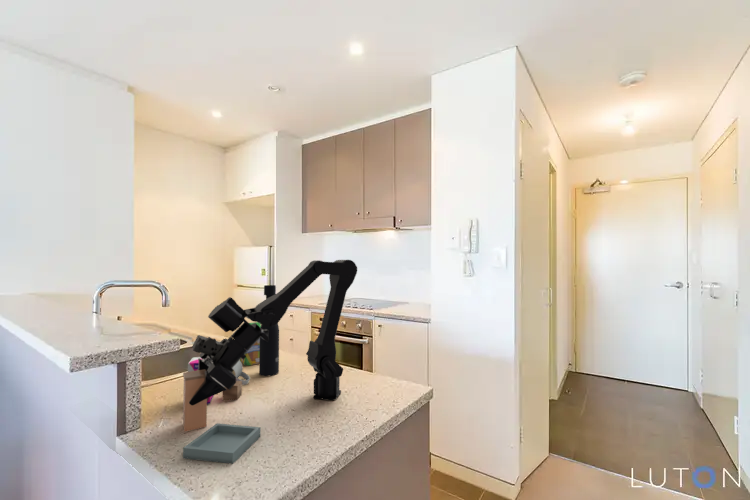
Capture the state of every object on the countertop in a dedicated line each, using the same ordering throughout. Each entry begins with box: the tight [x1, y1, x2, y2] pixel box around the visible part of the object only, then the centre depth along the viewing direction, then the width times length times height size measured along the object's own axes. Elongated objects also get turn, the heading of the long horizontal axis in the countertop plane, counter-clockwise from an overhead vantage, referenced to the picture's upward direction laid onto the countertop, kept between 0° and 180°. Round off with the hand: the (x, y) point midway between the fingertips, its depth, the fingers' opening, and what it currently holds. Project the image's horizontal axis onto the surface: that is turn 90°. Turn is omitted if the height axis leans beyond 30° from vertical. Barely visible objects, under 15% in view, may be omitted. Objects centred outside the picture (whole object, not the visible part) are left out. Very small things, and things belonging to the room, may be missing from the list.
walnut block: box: [222, 381, 243, 401], centre depth 100 cm, size 4×4×4 cm
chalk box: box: [240, 321, 261, 367], centre depth 136 cm, size 9×9×15 cm
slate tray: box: [182, 422, 262, 465], centre depth 73 cm, size 11×11×2 cm
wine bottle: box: [258, 284, 280, 377], centre depth 122 cm, size 6×6×30 cm
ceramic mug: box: [232, 360, 251, 386], centre depth 111 cm, size 11×8×8 cm
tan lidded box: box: [182, 369, 208, 433], centre depth 83 cm, size 5×5×12 cm
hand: (188, 397), depth 82 cm, fingers open, 9 cm apart
